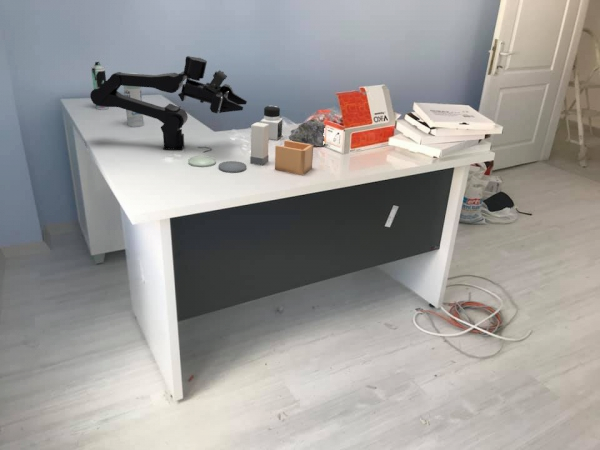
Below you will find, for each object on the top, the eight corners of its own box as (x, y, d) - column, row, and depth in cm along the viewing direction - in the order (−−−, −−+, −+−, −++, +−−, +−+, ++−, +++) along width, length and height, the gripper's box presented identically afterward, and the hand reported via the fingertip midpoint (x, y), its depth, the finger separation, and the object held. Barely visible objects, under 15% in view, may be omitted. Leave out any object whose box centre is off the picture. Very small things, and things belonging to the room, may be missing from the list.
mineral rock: (287, 143, 191) (288, 117, 187) (302, 137, 199) (304, 112, 195) (315, 150, 185) (317, 123, 180) (330, 144, 193) (332, 118, 188)
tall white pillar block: (250, 163, 167) (250, 125, 162) (256, 159, 171) (256, 122, 166) (262, 165, 166) (263, 127, 160) (268, 161, 170) (269, 124, 164)
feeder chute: (311, 168, 166) (313, 144, 163) (302, 175, 160) (304, 151, 156) (284, 162, 170) (285, 140, 166) (274, 169, 163) (275, 146, 159)
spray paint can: (146, 126, 201) (142, 75, 192) (130, 127, 197) (125, 75, 189) (141, 122, 206) (136, 72, 197) (125, 123, 202) (120, 73, 194)
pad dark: (218, 172, 157) (218, 170, 157) (218, 163, 165) (218, 160, 165) (246, 172, 159) (246, 170, 158) (246, 163, 167) (246, 161, 166)
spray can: (106, 110, 221) (101, 63, 212) (94, 109, 221) (88, 62, 212) (110, 107, 226) (105, 61, 217) (98, 106, 226) (93, 60, 217)
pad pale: (187, 166, 161) (187, 164, 160) (189, 157, 169) (189, 155, 168) (215, 167, 162) (215, 164, 161) (216, 158, 170) (216, 156, 169)
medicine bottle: (277, 140, 193) (278, 109, 188) (259, 138, 194) (260, 107, 189) (281, 135, 200) (283, 105, 194) (264, 133, 201) (265, 104, 195)
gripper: (199, 72, 157) (247, 87, 159) (211, 64, 174) (254, 78, 176) (192, 106, 162) (238, 120, 164) (204, 94, 179) (246, 108, 180)
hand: (244, 105), depth 171 cm, fingers open, 9 cm apart
